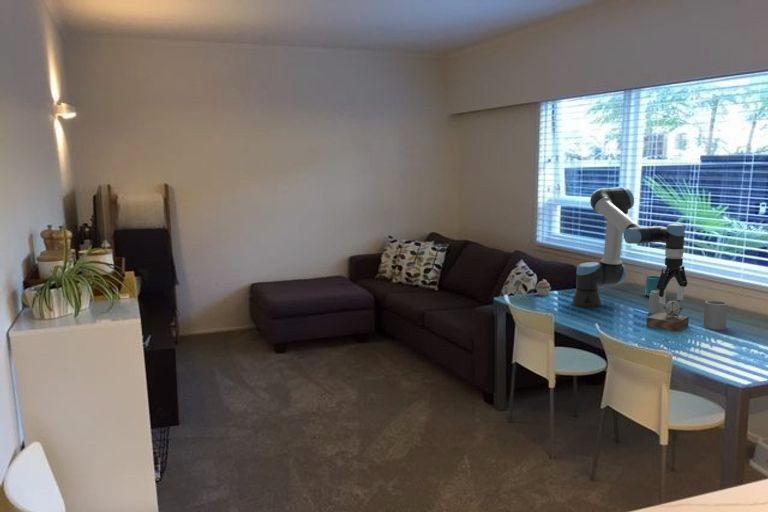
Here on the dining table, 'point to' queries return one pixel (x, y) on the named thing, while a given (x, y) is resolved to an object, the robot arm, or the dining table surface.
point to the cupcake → (543, 288)
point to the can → (655, 303)
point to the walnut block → (667, 321)
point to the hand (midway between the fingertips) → (671, 301)
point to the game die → (672, 308)
